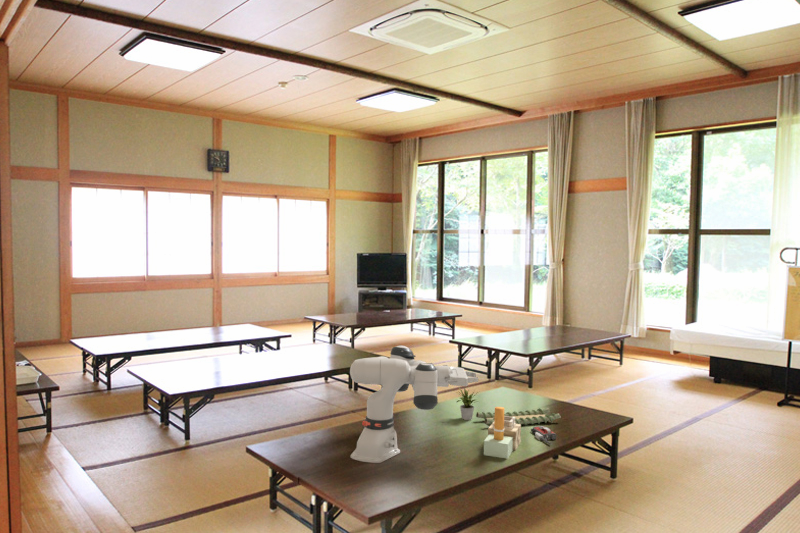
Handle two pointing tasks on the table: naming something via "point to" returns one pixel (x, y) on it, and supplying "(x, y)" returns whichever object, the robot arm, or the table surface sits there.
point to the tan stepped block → (509, 430)
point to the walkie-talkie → (543, 433)
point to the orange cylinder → (499, 423)
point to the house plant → (466, 405)
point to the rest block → (498, 446)
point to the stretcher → (523, 416)
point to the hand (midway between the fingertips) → (476, 377)
